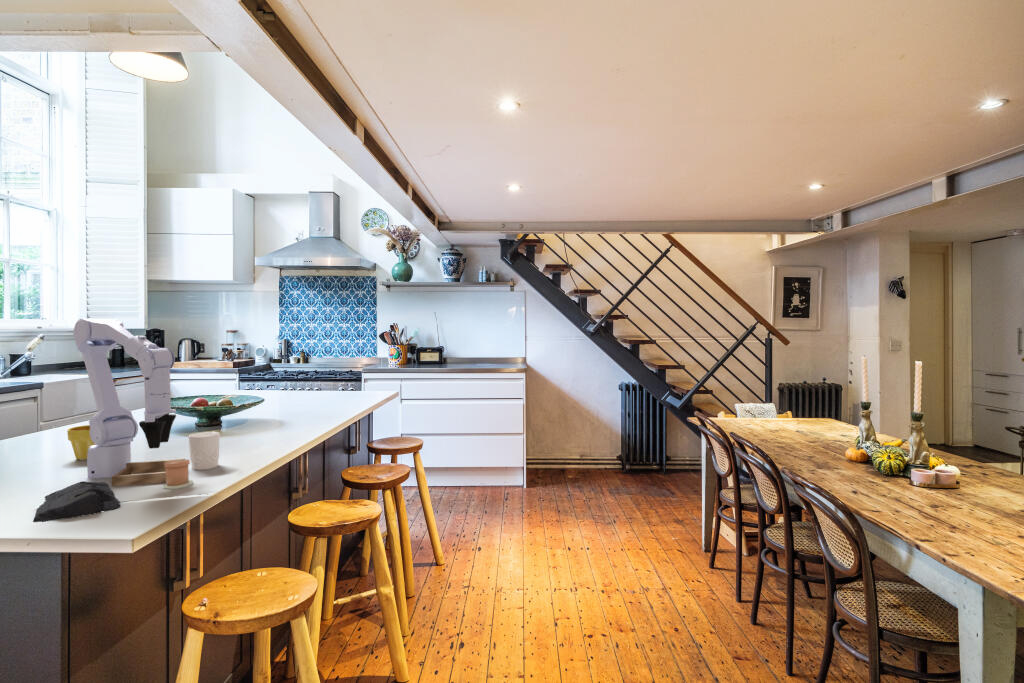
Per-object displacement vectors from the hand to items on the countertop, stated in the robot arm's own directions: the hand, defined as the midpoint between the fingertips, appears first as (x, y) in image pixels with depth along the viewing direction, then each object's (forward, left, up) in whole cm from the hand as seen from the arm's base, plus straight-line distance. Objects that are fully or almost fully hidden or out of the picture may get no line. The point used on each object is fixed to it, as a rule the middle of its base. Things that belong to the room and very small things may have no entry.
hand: (159, 445), depth 146 cm
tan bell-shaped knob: (+6, -7, -9) cm, 13 cm away
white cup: (+8, +12, -10) cm, 18 cm away
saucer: (+6, -7, -10) cm, 14 cm away
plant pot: (-30, +39, -10) cm, 50 cm away
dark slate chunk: (-13, -15, -11) cm, 22 cm away
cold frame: (-3, +3, -10) cm, 11 cm away
